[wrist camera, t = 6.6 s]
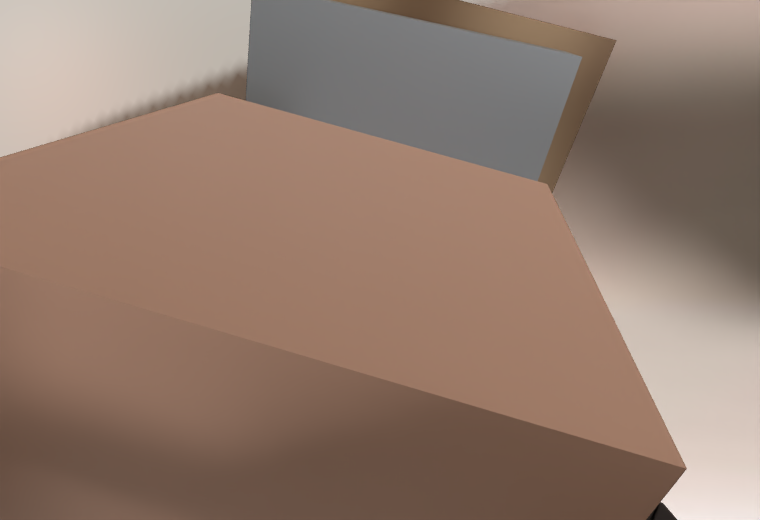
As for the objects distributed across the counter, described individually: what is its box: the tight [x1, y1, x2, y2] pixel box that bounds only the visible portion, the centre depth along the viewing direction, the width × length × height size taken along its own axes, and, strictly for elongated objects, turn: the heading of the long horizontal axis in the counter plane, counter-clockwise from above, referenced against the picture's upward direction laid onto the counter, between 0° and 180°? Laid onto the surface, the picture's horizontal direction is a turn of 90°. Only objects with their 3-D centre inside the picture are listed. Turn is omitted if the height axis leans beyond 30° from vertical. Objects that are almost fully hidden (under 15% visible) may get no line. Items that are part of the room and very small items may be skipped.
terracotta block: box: [0, 93, 687, 520], centre depth 7 cm, size 6×6×6 cm
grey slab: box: [246, 0, 582, 181], centre depth 16 cm, size 9×9×2 cm
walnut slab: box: [333, 0, 616, 193], centre depth 18 cm, size 11×11×2 cm
